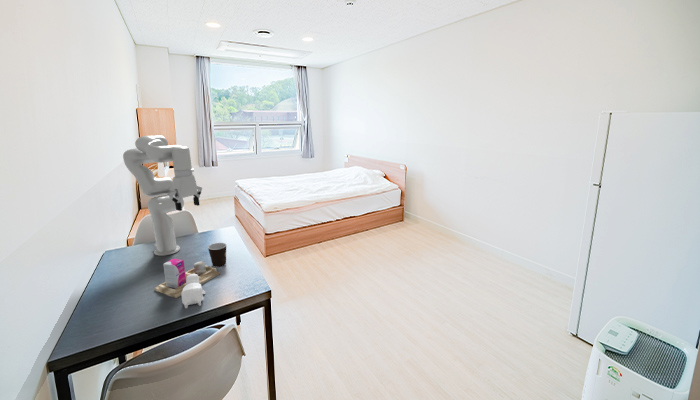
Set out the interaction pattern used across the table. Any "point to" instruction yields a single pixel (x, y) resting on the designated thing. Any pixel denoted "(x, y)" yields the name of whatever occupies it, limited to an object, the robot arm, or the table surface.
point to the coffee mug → (218, 254)
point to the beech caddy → (199, 268)
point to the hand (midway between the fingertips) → (188, 207)
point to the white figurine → (192, 291)
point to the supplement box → (174, 273)
